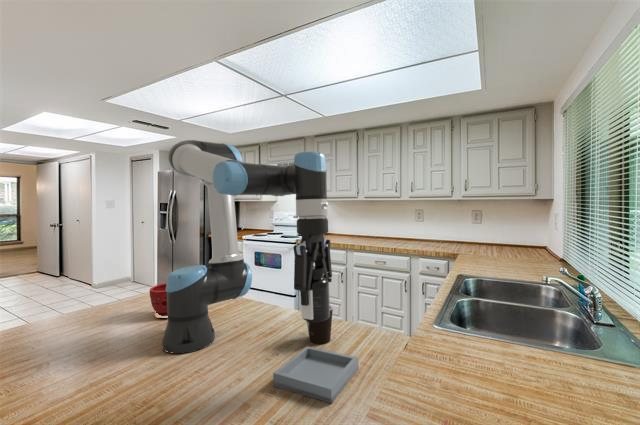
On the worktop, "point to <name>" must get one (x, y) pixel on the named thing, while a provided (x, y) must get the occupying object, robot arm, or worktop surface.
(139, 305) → the worktop surface
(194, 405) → the worktop surface
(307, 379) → the slate tray
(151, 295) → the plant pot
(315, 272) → the supplement bottle
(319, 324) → the coffee mug
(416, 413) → the worktop surface
